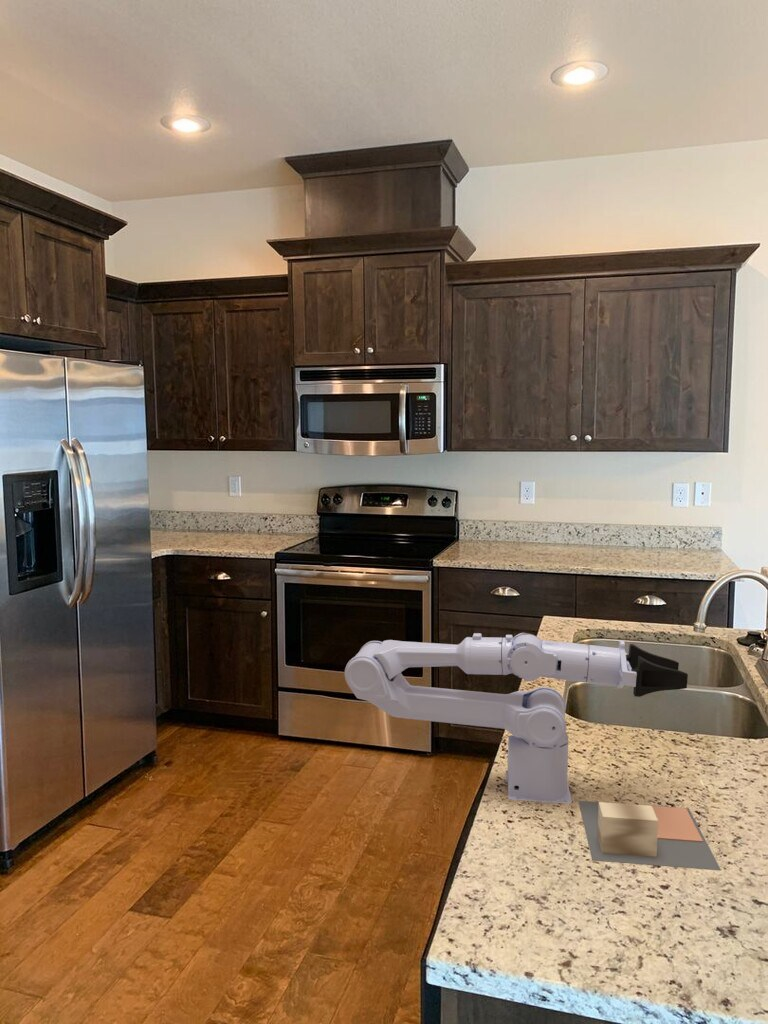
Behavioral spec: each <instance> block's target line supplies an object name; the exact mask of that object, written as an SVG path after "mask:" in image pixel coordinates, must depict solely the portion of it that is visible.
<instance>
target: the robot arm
mask: <svg viewBox="0 0 768 1024" xmlns="http://www.w3.org/2000/svg"><path fill="white" fill-rule="evenodd" d="M625 645H626V643H625V641H624V640H621V639H620V640H619V641H618V647H611V646H603V645H593V644H586V643H584V644H583V643H578V642H576V643H575V642H567V641H559V640H558V641H553V640H544V639H542V640H541V638H539V637H538V636H536V635H534V634H531V633H526V632H520V633H518V634H516V635H515V636H513V634H506V635H505V637H498V636H497V637H484V636H483V635H482V633H479V632H477V633H476V632H474V633H473V635H472V637H471V636H467V637H465V638H464V639H463V640H462V641H461V642H460V643H458V644H451V643H438V642H437V643H435V642H423V641H422V642H420V641H419V642H418V641H402V640H395V639H394V640H393V639H386V640H383V641H380V640H370V641H368V642H366V643H365V644H363V646H361V647H360V649H359V651H358V653H356V654H355V656H353V657H352V658H351V659H349V661H348V662H347V664H346V666H345V668H344V680H345V682H346V684H347V686H348V688H349V689H350V690H351V692H352V693H353V694H354V696H355V697H356V699H359V700H363V701H367V702H369V703H370V704H372V705H373V706H375V707H377V708H378V709H380V710H381V711H383V712H384V713H385V714H388V716H391V717H394V718H399V719H407V720H417V721H427V722H435V723H444V724H445V723H447V724H454V725H455V724H457V725H465V726H466V725H467V726H474V727H484V728H485V727H486V728H495V729H503V730H506V732H508V733H509V734H511V735H508V739H507V770H505V783H507V796H508V800H513V801H524V802H525V801H527V802H541V803H556V804H568V805H569V804H572V803H573V802H572V796H571V791H570V788H569V783H568V773H569V771H568V769H569V767H568V766H569V765H568V764H569V763H568V762H569V735H568V733H567V723H566V701H565V699H564V697H563V695H562V694H561V693H560V692H559V691H558V690H556V689H554V688H552V687H548V686H541V687H537V688H535V689H532V690H517V691H513V692H511V693H507V694H506V693H495V692H494V693H493V692H484V691H474V690H463V689H451V688H442V687H432V686H423V685H422V686H421V685H412V684H410V683H409V681H408V680H407V679H406V678H405V676H404V675H403V674H402V672H403V671H405V670H406V669H408V668H427V667H432V668H433V667H434V668H435V667H458V668H460V669H461V670H462V671H463V672H464V673H465V674H467V675H495V676H496V675H497V676H498V675H499V676H500V675H502V676H507V675H509V674H513V675H515V676H517V677H518V678H520V679H523V681H524V682H532V681H535V680H537V679H539V678H550V679H554V680H562V681H569V682H579V683H586V684H593V685H601V686H602V685H603V686H610V687H615V688H616V689H623V688H624V687H625V686H626V687H633V696H634V697H637V698H639V697H640V698H641V697H643V696H645V695H646V696H647V695H649V694H652V693H656V692H661V691H664V692H665V691H675V690H676V691H677V690H684V689H688V677H689V676H688V673H686V672H684V671H681V670H679V666H680V665H679V664H680V663H679V662H678V661H677V660H673V659H670V658H667V657H664V656H660V655H657V654H654V653H651V652H648V651H647V650H644V649H642V648H640V647H639V646H637V645H635V644H634V643H629V646H628V653H627V652H626V648H625Z"/></svg>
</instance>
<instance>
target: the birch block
mask: <svg viewBox="0 0 768 1024" xmlns="http://www.w3.org/2000/svg"><path fill="white" fill-rule="evenodd" d="M598 802H599V810H598V840H599V844H600V847H601V851H602V853H614V854H627V855H640V856H654V857H657V835H658V819H657V817H656V815H655V812H654V810H653V808H652V806H653V805H648V804H647V805H646V804H633V803H631V804H630V803H620V802H619V803H620V804H619V803H616V802H603V801H598Z"/></svg>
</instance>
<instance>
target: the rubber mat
mask: <svg viewBox="0 0 768 1024" xmlns="http://www.w3.org/2000/svg"><path fill="white" fill-rule="evenodd" d="M599 802H600V801H588V800H586V801H585V800H578V805H579V809H580V813H581V818H582V821H583V827H584V831H585V835H586V838H587V840H586V841H587V844H588V847H589V853H590V856H591V861H595V862H596V861H597V862H606V863H618V864H619V863H620V864H635V865H645V866H657V867H669V868H670V867H671V868H672V867H673V868H682V869H683V868H684V869H694V870H695V869H698V870H710V871H719V872H720V871H722V869H721V867H720V865H719V863H718V861H717V859H716V858H715V856H714V854H713V852H712V850H711V848H710V846H709V844H708V842H707V841H706V839H705V837H704V834H703V833H702V831H701V829H700V826H699V825H698V824H697V821H696V819H695V818H694V815H693V814H692V812H691V810H690V808H689V807H676V806H662V805H661V806H660V805H651V806H652V808H653V810H654V812H655V815H656V817H657V819H658V835H657V857H654V856H640V855H627V854H614V853H602V851H601V847H600V844H599V840H598V810H599ZM619 804H621V803H620V802H619Z"/></svg>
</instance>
